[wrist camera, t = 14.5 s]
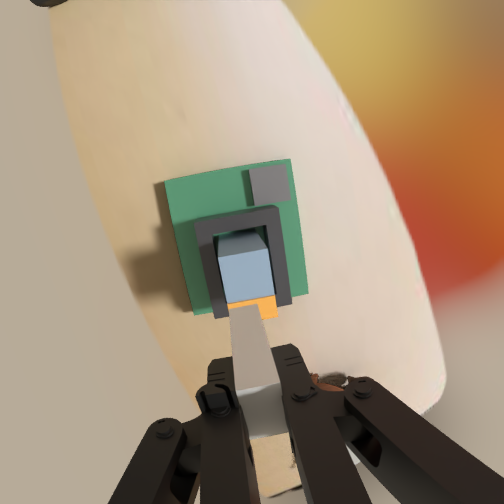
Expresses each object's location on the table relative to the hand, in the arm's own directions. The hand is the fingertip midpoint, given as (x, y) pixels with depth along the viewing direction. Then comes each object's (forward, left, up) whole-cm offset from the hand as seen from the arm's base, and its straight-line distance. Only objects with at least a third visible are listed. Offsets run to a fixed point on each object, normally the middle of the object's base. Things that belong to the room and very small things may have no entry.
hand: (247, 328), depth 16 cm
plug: (+1, +1, -19) cm, 19 cm away
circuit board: (-1, +1, -20) cm, 20 cm away
